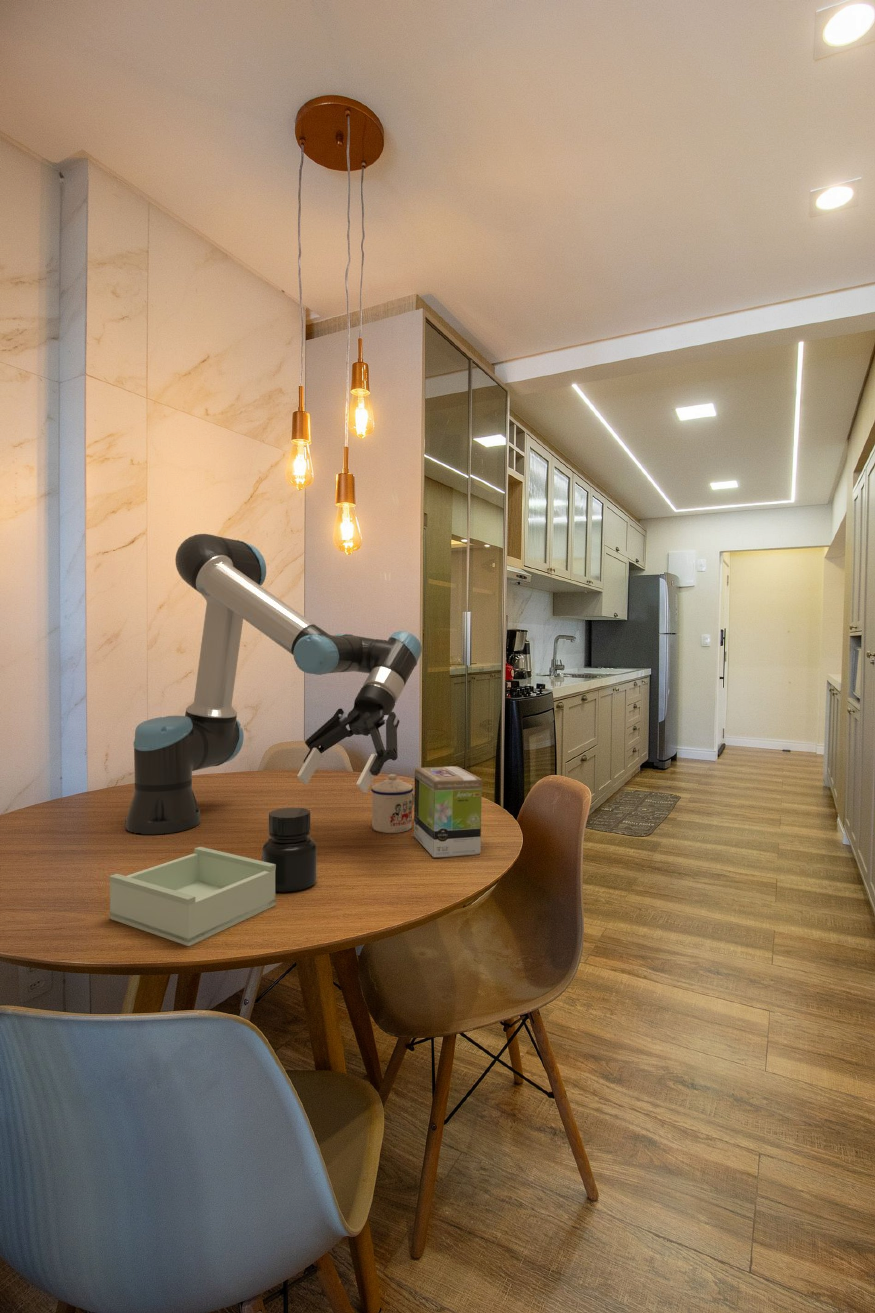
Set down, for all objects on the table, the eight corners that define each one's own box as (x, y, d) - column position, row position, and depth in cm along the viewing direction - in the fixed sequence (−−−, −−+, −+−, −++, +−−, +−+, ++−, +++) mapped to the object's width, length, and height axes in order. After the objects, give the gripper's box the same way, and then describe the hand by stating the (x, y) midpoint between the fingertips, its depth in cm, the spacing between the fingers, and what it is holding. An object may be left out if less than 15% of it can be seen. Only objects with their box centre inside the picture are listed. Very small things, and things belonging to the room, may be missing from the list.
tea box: (482, 855, 126) (483, 778, 126) (432, 859, 123) (432, 780, 123) (458, 833, 141) (458, 764, 140) (412, 836, 138) (412, 766, 138)
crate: (109, 919, 96) (109, 876, 96) (200, 884, 110) (200, 846, 110) (188, 946, 87) (188, 899, 87) (275, 905, 101) (275, 864, 101)
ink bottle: (307, 870, 117) (307, 803, 117) (327, 886, 109) (327, 814, 109) (252, 881, 112) (252, 810, 111) (269, 898, 104) (269, 822, 104)
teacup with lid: (394, 836, 138) (394, 780, 138) (362, 829, 143) (362, 775, 143) (429, 824, 147) (429, 772, 147) (398, 817, 153) (398, 767, 153)
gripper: (439, 710, 128) (396, 804, 115) (337, 704, 140) (289, 788, 128) (425, 685, 123) (379, 779, 110) (321, 680, 136) (269, 765, 123)
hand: (330, 784), depth 119 cm, fingers open, 13 cm apart
